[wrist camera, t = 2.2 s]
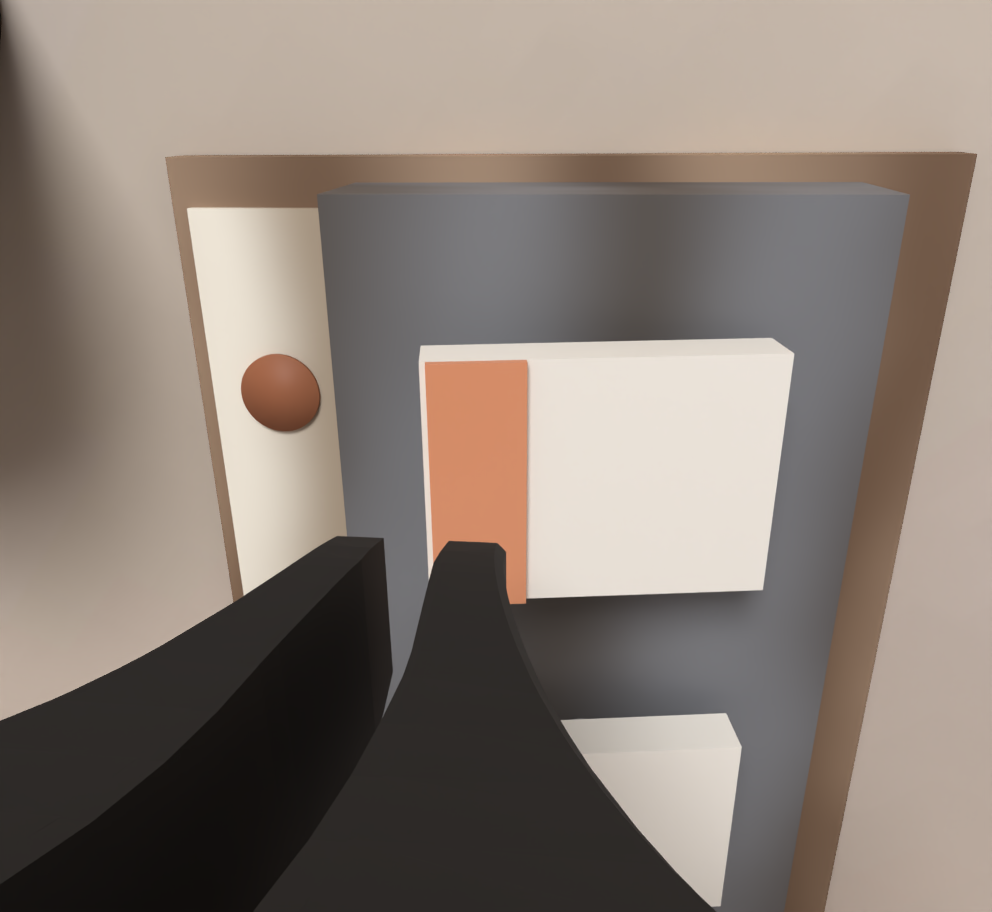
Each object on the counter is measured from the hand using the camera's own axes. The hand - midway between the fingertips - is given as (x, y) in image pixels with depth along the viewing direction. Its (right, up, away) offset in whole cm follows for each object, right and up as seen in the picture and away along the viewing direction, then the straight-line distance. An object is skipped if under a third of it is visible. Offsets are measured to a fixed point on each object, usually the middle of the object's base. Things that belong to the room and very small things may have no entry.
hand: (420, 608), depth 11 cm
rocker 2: (+3, -6, +7) cm, 10 cm away
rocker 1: (+3, +2, +4) cm, 5 cm away
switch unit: (+2, -4, +12) cm, 12 cm away
